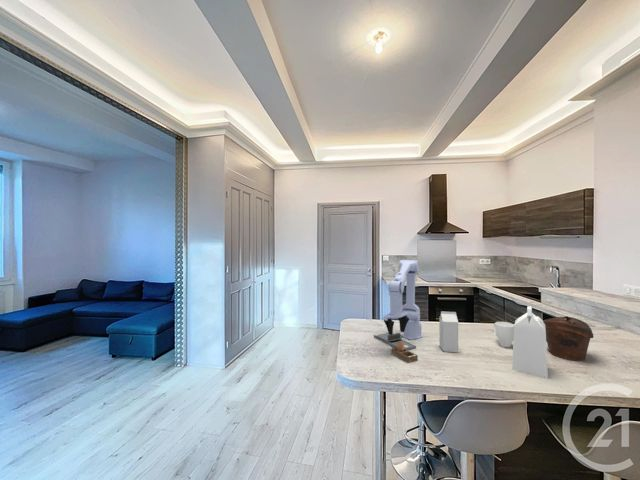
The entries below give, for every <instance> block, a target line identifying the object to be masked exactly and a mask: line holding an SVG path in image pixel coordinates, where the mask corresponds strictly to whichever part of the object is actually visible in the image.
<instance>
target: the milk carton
mask: <svg viewBox="0 0 640 480" xmlns="http://www.w3.org/2000/svg"><path fill="white" fill-rule="evenodd" d="M438 320H439V321H438V322H439V331H438V333H439V335H438V336H439V347H440V349H441V351H442V352H447V353H456V354H457V353H459V320H458V316H457V312H456V311H440V316H439V319H438Z"/></svg>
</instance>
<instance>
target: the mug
mask: <svg viewBox="0 0 640 480" xmlns="http://www.w3.org/2000/svg"><path fill="white" fill-rule="evenodd" d="M514 324H515V323H514ZM514 324H513V323H511V322H507V321H496V322H494V323H493V327H492V328H493V331H494V333H495V336H496V338H497V341H498V343H499V345H500V346H501V347H503V348H511V346H512V345H513V340H514Z"/></svg>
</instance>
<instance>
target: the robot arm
mask: <svg viewBox="0 0 640 480" xmlns="http://www.w3.org/2000/svg"><path fill="white" fill-rule="evenodd" d="M398 268H399V271H398V272H397V273H395V275H394V276H393V279H392V280H390V281H389V282H388V287H387V290H388V295H389V297H390V299H389V301H390V302H389V306H390V307H389V309H390V311H389V313H387V314H386V315H385V314H384V315H383V322H384V324H385V326H386V329H387V333H388V334H390V335H392V334H394V325H395V321H393V320H394V319H398V322H399V331H400V333H401V332H402V333H401V337H402V338H403V337H404V338H406V339H408V340H409V341H410V340H416V339H420V338H423V335H422V323H421V321H420V320H421V309H420V307H419V306H418V305H417V304H416V296H415V295H416V277H417V276H418V275H419V272H420V263H419V261H418V259H416V260H412V259H411V260H410V259H409V260H408V259H400V260H399V264H398ZM405 283H406V285H405ZM405 286H406V287H405ZM405 288H406V289H405ZM404 289H405V290H406V292H405V295H406V296H405V298H406V299H405V304H403V293H404V291H405V290H404Z"/></svg>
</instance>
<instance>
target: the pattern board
mask: <svg viewBox="0 0 640 480" xmlns="http://www.w3.org/2000/svg"><path fill="white" fill-rule="evenodd" d="M373 338H374V339H377V340H378V341H380V342H381V343H382V342H383V343H384V344H386V345H388V346H390V347H391V348H392V349H393V348H396V347H397V342H398V341H401V342H404V349H406V350H408V351H410V350H414V349H417V346H416V345H415V344H413V343H410V342H408V341H406V340H404V339H403V338H402V339H399V340H397V341H394V342H393V341H392V342H387V341H385V340H383V339H381V338H380V337H378V336H377V334H373Z"/></svg>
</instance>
